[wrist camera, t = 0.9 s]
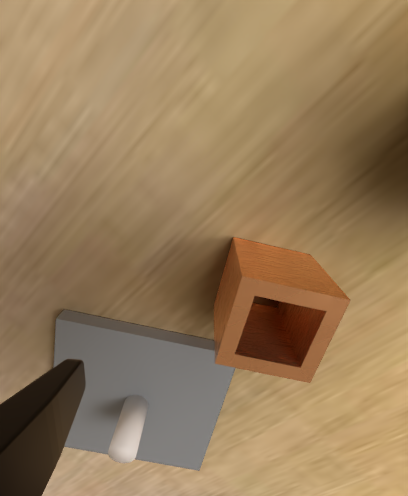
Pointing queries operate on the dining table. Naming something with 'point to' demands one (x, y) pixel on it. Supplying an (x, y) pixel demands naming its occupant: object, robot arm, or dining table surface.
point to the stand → (142, 390)
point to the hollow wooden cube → (275, 311)
